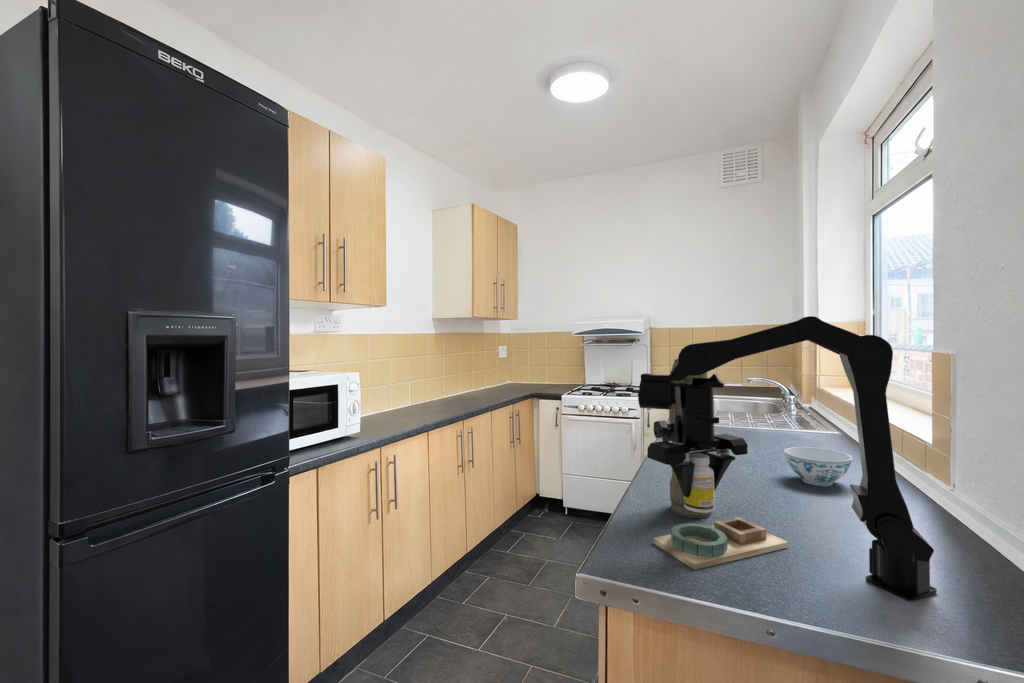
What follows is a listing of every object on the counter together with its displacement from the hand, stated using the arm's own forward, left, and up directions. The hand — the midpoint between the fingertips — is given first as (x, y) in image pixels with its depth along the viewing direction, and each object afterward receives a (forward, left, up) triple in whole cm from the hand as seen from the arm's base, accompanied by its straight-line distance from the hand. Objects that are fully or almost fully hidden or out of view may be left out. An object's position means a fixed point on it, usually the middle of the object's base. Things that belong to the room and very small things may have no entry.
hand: (698, 494), depth 84 cm
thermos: (+16, -12, -11) cm, 22 cm away
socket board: (0, -5, -10) cm, 11 cm away
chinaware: (+19, -57, -11) cm, 61 cm away
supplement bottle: (0, 0, -3) cm, 3 cm away
